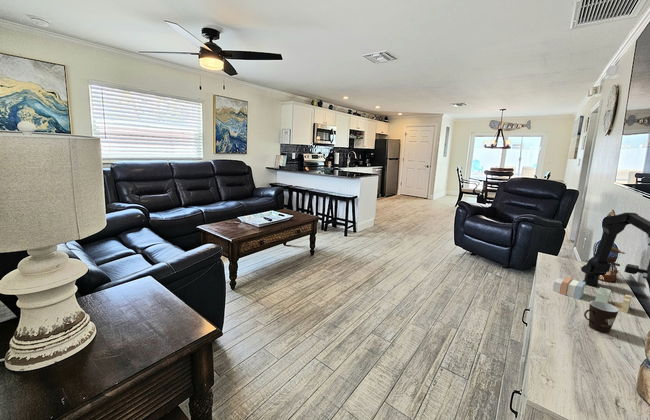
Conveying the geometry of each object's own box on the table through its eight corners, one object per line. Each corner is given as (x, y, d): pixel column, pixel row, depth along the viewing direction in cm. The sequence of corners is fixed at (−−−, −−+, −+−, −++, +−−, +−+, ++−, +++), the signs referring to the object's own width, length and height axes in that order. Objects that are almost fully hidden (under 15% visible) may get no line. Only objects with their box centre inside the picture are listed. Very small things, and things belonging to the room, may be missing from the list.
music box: (619, 278, 169) (626, 246, 164) (618, 286, 162) (626, 252, 156) (584, 270, 180) (590, 239, 174) (581, 277, 172) (588, 245, 167)
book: (597, 298, 146) (600, 287, 145) (608, 301, 143) (611, 290, 142) (594, 304, 140) (596, 292, 139) (605, 307, 137) (608, 295, 136)
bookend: (615, 304, 141) (618, 292, 139) (629, 307, 137) (631, 295, 136) (613, 309, 136) (616, 297, 134) (627, 313, 132) (630, 301, 131)
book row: (556, 286, 158) (558, 274, 157) (583, 293, 150) (585, 282, 149) (551, 291, 152) (554, 279, 151) (579, 299, 144) (581, 287, 143)
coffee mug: (606, 324, 123) (611, 302, 121) (618, 336, 115) (624, 313, 113) (572, 319, 127) (576, 298, 125) (582, 330, 119) (586, 308, 117)
